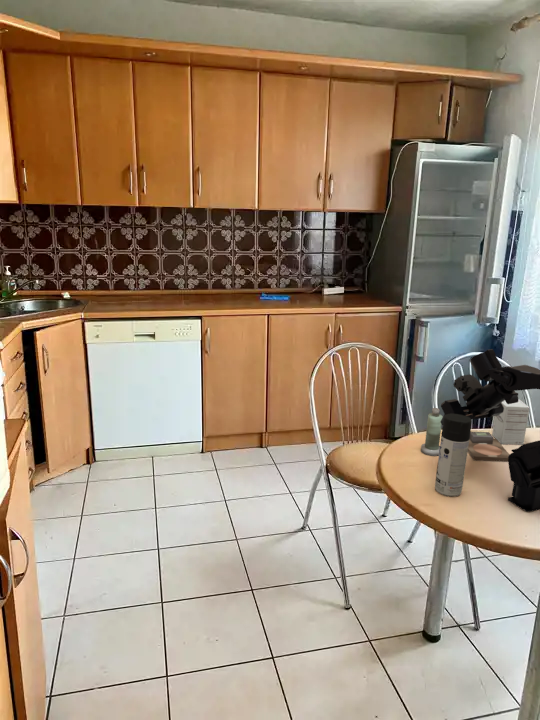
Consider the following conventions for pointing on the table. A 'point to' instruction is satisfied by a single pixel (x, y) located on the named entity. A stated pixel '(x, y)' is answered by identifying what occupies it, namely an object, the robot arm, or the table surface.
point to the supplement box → (511, 423)
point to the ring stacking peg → (432, 434)
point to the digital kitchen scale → (486, 447)
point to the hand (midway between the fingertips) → (453, 420)
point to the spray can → (453, 454)
